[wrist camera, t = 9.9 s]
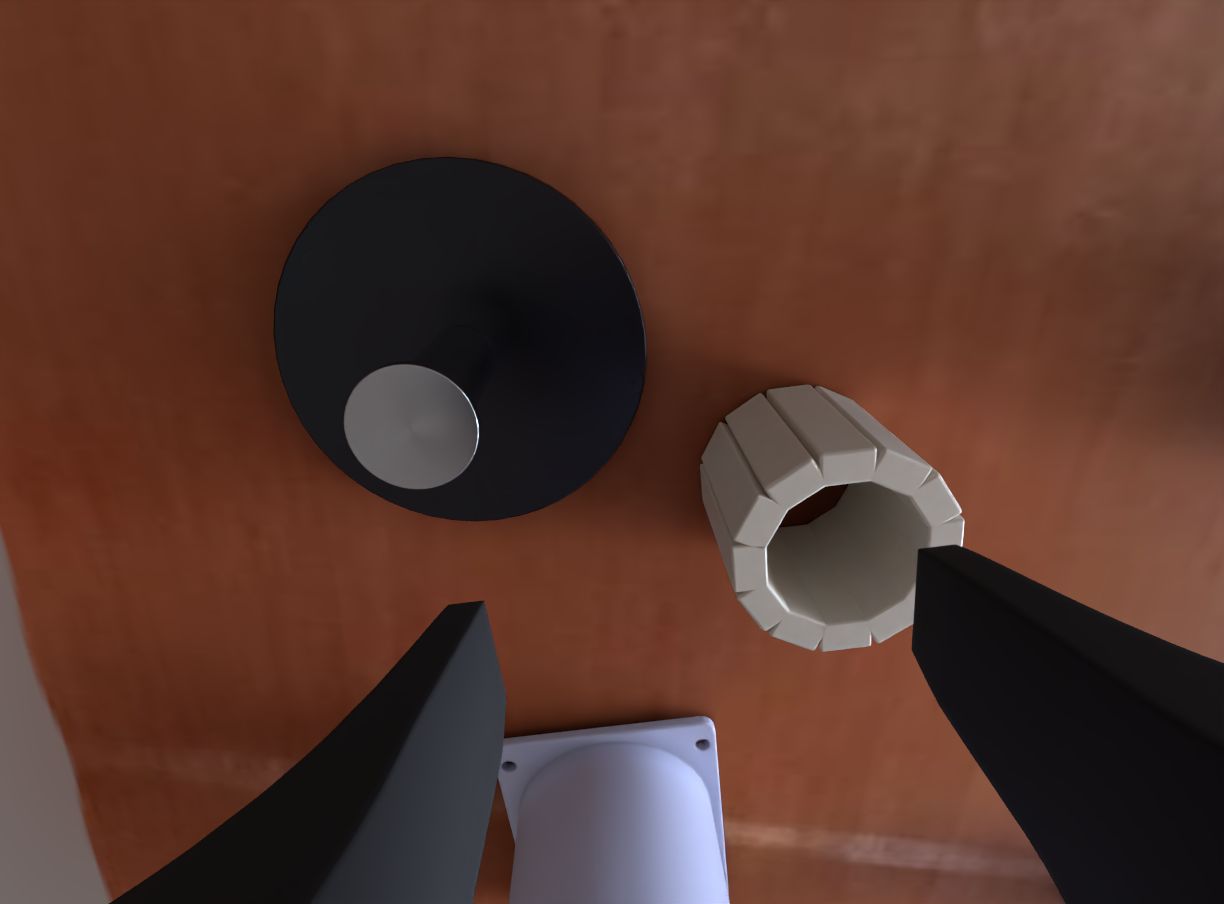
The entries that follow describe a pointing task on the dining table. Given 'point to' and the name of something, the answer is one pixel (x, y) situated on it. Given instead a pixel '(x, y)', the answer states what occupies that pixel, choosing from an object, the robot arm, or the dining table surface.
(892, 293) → the dining table surface
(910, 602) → the cream faceted cylinder
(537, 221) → the stand
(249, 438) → the dining table surface
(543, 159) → the dining table surface
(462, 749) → the robot arm
